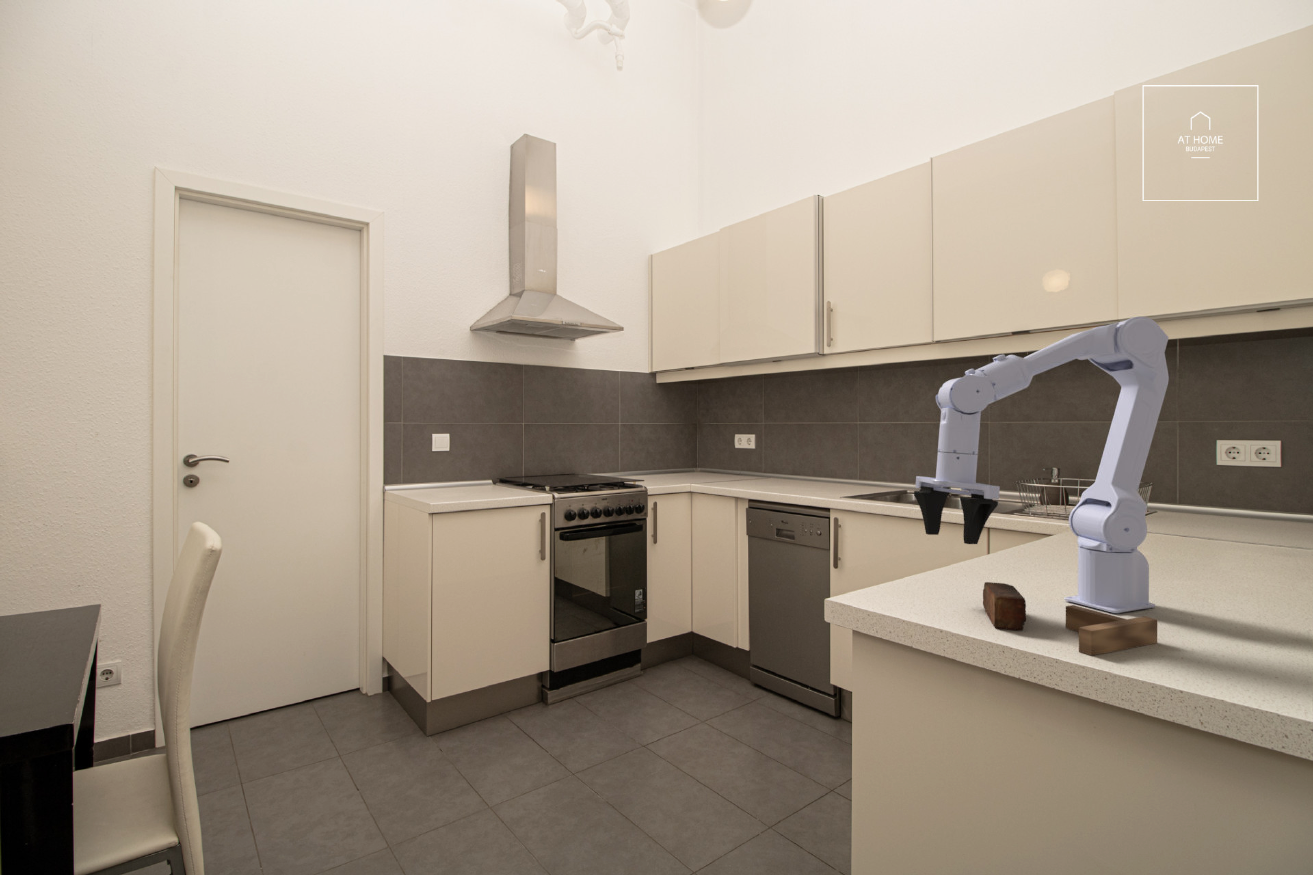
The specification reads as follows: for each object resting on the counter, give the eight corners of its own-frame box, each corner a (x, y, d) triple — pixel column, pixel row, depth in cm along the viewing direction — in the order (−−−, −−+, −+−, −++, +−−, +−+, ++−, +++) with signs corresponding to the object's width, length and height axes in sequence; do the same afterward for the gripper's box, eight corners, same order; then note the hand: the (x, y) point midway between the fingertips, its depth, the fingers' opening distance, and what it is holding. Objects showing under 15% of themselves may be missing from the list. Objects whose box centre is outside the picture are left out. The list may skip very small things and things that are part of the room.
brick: (1027, 632, 84) (1027, 598, 84) (994, 629, 86) (994, 595, 86) (1011, 611, 94) (1011, 580, 94) (982, 609, 96) (982, 578, 96)
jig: (1090, 623, 88) (1090, 602, 88) (1157, 642, 80) (1157, 619, 80) (1026, 634, 83) (1026, 611, 83) (1091, 655, 75) (1091, 631, 75)
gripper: (903, 449, 104) (897, 530, 104) (977, 455, 90) (970, 548, 91) (936, 451, 106) (930, 530, 107) (1012, 457, 93) (1005, 548, 93)
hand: (950, 538), depth 99 cm, fingers open, 7 cm apart
